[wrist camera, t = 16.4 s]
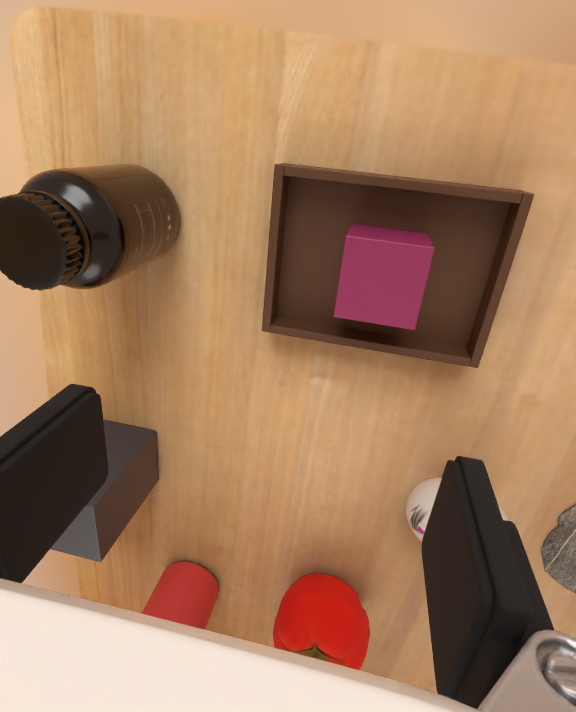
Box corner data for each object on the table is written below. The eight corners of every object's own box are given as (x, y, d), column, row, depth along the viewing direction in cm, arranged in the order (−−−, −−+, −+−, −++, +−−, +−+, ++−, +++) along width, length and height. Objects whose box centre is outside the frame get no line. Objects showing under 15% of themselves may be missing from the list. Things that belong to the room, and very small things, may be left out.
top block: (340, 294, 31) (332, 317, 27) (351, 222, 29) (345, 235, 25) (410, 305, 31) (415, 330, 26) (427, 232, 29) (435, 247, 24)
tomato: (353, 556, 43) (347, 631, 36) (379, 618, 46) (378, 697, 39) (267, 566, 46) (247, 637, 39) (298, 623, 49) (284, 698, 42)
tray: (270, 319, 34) (261, 331, 32) (283, 163, 29) (274, 163, 27) (471, 352, 32) (478, 368, 30) (522, 190, 27) (535, 194, 25)
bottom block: (104, 467, 45) (33, 545, 36) (98, 418, 42) (21, 489, 33) (158, 479, 44) (101, 562, 35) (156, 430, 41) (93, 507, 32)
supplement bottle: (100, 250, 34) (-28, 294, 24) (96, 156, 31) (-53, 158, 21) (182, 267, 34) (87, 321, 23) (185, 173, 31) (79, 184, 20)
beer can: (209, 556, 47) (157, 675, 36) (228, 599, 49) (185, 722, 39) (156, 558, 49) (93, 671, 38) (177, 599, 51) (123, 716, 41)
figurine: (390, 491, 39) (391, 553, 33) (423, 442, 36) (431, 500, 30) (474, 528, 38) (490, 597, 32) (514, 481, 36) (540, 547, 30)
